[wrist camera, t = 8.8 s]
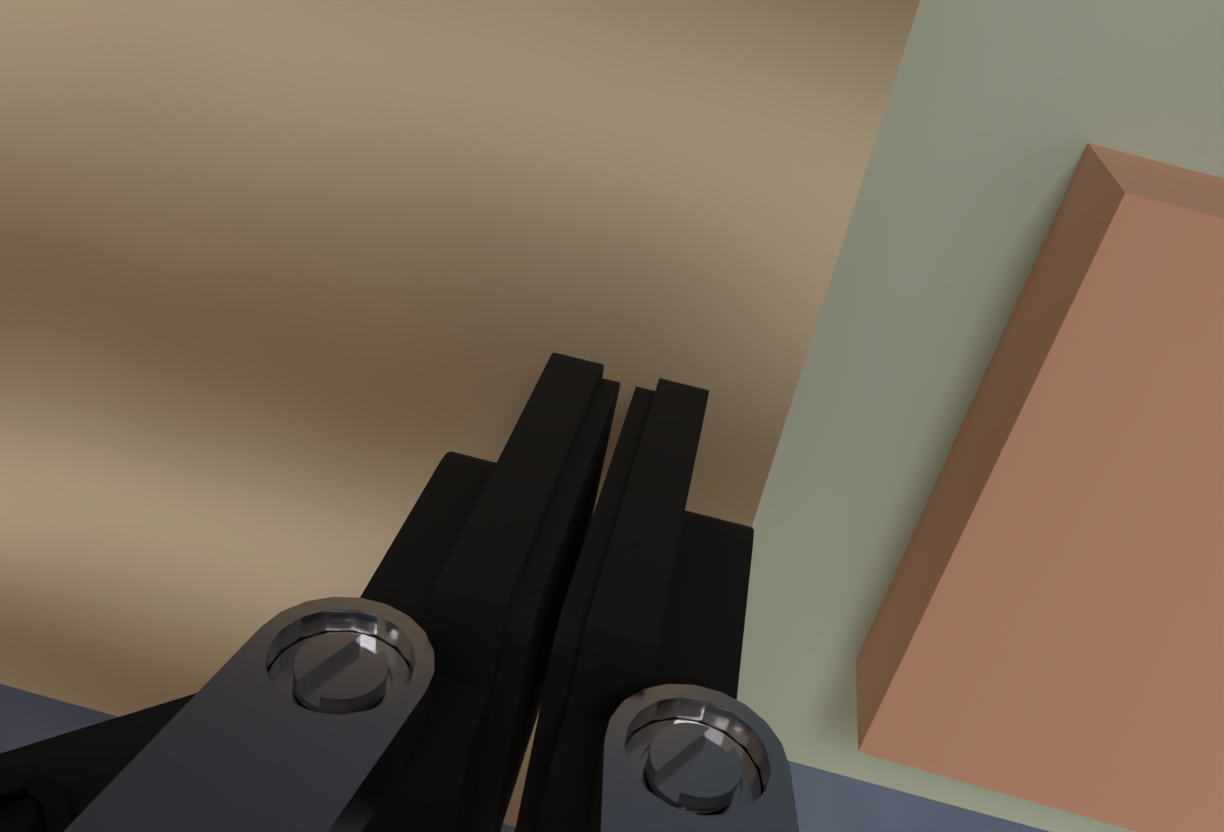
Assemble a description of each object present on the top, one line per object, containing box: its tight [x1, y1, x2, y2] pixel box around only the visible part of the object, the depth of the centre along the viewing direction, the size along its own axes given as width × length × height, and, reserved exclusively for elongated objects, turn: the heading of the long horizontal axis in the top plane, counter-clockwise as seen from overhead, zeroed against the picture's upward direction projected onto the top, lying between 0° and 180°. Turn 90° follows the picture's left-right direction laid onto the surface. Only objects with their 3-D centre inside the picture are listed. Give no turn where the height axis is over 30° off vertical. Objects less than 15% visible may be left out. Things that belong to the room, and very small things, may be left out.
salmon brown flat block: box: [856, 143, 1224, 832], centre depth 15 cm, size 9×6×2 cm, turn 168°
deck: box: [0, 0, 920, 827], centre depth 15 cm, size 14×16×4 cm
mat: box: [737, 0, 1224, 832], centre depth 15 cm, size 16×11×1 cm, turn 169°
